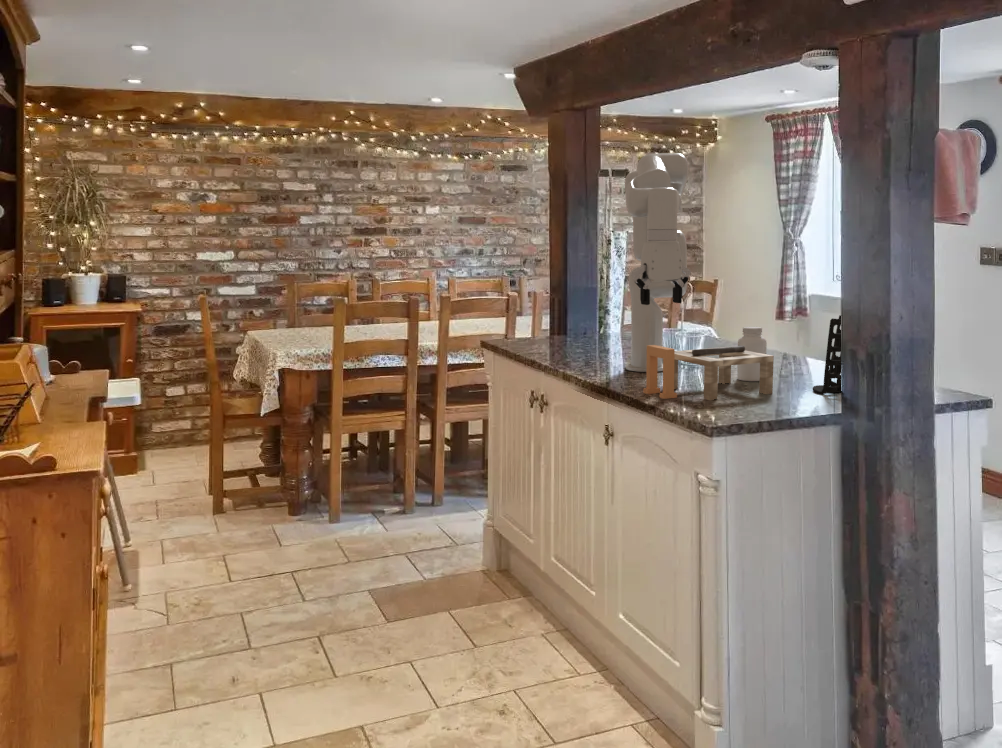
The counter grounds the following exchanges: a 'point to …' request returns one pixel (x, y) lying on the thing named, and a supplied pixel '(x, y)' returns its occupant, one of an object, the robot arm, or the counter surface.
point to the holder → (832, 361)
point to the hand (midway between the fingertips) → (661, 303)
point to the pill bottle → (754, 344)
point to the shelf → (725, 367)
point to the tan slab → (652, 369)
